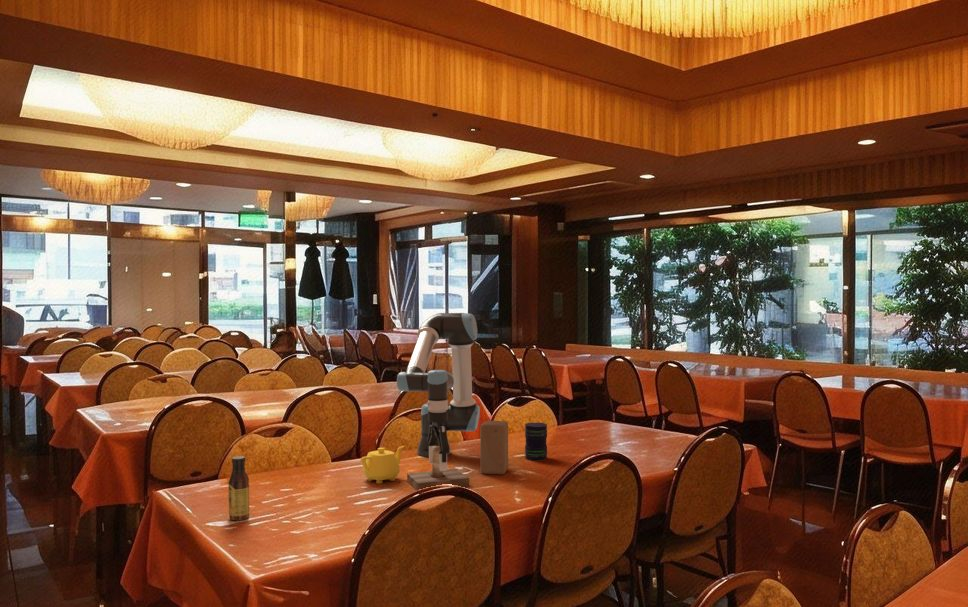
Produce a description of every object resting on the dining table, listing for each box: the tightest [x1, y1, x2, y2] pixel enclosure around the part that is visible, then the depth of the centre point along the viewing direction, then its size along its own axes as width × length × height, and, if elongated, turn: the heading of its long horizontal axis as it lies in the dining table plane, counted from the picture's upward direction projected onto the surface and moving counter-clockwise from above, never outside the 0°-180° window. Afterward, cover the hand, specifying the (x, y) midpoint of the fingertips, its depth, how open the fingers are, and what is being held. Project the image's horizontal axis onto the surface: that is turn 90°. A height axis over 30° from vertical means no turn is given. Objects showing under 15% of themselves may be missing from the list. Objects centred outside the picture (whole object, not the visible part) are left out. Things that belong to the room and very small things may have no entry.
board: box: [406, 468, 470, 491], centre depth 263 cm, size 15×20×3 cm
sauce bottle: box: [228, 455, 250, 521], centre depth 222 cm, size 7×6×20 cm
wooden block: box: [479, 420, 509, 475], centre depth 281 cm, size 10×10×20 cm
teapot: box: [360, 445, 405, 485], centre depth 269 cm, size 13×20×12 cm
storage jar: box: [524, 422, 548, 462], centre depth 305 cm, size 10×10×15 cm
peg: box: [431, 446, 443, 478], centre depth 263 cm, size 4×4×14 cm
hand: (437, 466), depth 263 cm, fingers open, 13 cm apart
